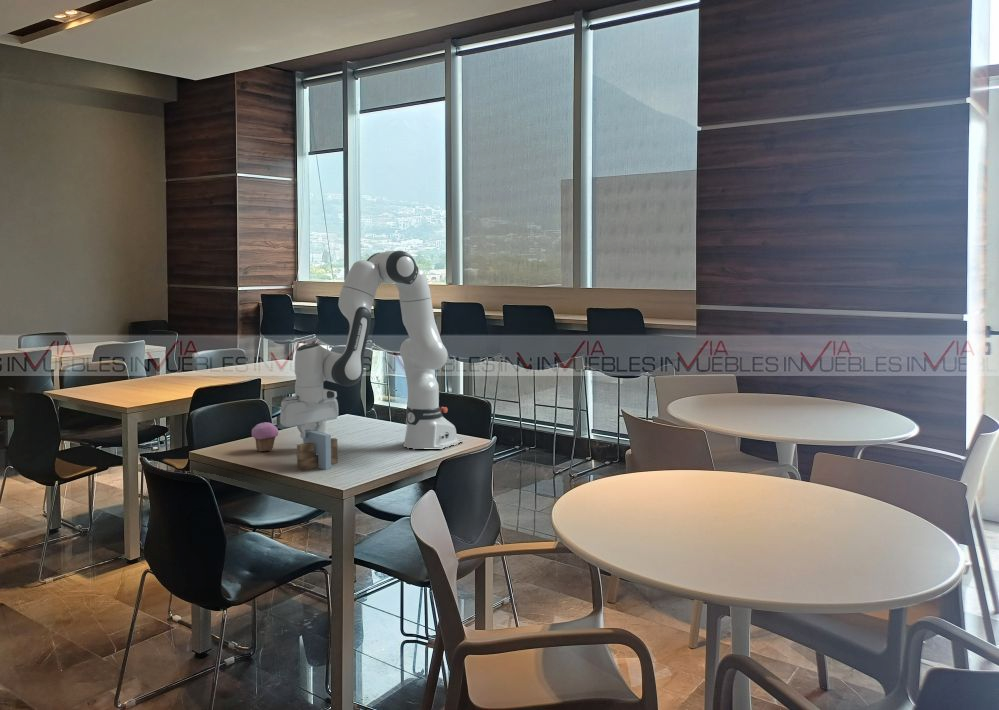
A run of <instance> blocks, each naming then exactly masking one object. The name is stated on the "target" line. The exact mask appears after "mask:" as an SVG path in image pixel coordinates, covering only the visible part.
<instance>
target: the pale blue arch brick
mask: <svg viewBox="0 0 999 710" xmlns="http://www.w3.org/2000/svg"><path fill="white" fill-rule="evenodd" d="M304 431H305V432H307V433H308V434H307V436H308V437H307V438H302V442H304V443H310V442H311V443H314V455H318V467H317V468H319V469H321V470H324V471H328V470H332V464H331V438H332V435H331V434H330V433H321V432H317V431H313V430H309V429H308V430H304Z"/></svg>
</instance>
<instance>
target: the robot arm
mask: <svg viewBox="0 0 999 710" xmlns="http://www.w3.org/2000/svg"><path fill="white" fill-rule="evenodd" d="M343 281H344V282H343V284H342V287H341V289H340V290H341V291H340V293H339V296H338V302H337V303H338V304H337V305H338V308H339V310H340V312H341V314H342V315H343V316H344V317H345V318H346V319H347V321H348V323H349V330H348V335H347V339H346V340H347V341H346V344H345V348H344V351H343V352H342V353H340V352H334V351H332V350H329V349H328V348H325V347H323V346H322V345H321V344H319V343H315V342H312V343H305V344H302V345H300V346H299V347H298V348H296V350H295V354H294V375H295V383H294V396H286V397H285V398H284V399H282V400H281V402H280V415H279V417H280V418H279V423H280V426H282V427H284V428H285V427H286V428H290V427H296V428H297V429H298V431H299V432H300V438H301V439H303V438H307V437H308V436H307V434H308V433H307V432H305V431H304V429H303V428H304V427H305V424H309V423H315V424H317V425H316V427H315V430H313V431H317V432H320V429H321V427H322V425H323V421H326V422H327V421H332V420H337V418H338V417H339V402H338V399H337V397H338V393H337V391H335V390H332V389H328V388H326V387H324V382H326V381H327V382H330V383H334V384H338V385H339V386H343V387H345V388H347V387H348V388H349V387H352V386H355V385H356V384H358V383H359V382H360V381H361V379H362V377H363V375H364V358H365V351H366V347H367V343H368V338H369V334H370V330H371V324H372V308H373V304H374V300H375V297H376V293H377V290H378V289H379V286H380V285H381V284H385V285H387V284H388V285H393V284H394V285H395V286H396V288H397V291H398V298H399V304H400V305H399V306H400V310H401V311H400V313H401V319H402V323H403V326H404V327H405V329H406V333H407V334H408V338H406V339H405V340H403V341H402V342H401V345H400V347H399V356H400V358H401V359H402V362H403V368H404V373H405V374H404V375H405V378H406V385H407V406H406V421H407V423H406V430H405V437H404V441H403V447H404V448H405V447H407V448H406V449H409V448H414V449H413V450H415V449H424V448H442V447H445V446H447V445H450V444H453V443H456V442H459V441H458V440H459V439H457V437H458V436H457V429H456V426H455V425H454V424H453V423H452V422H450V421H449V420H447V419H446V418H445V417H444V415H443V413H445V414H446V413H447V412H448V410H449V409H448V407H446V406H445V407H444V406H441V407H440V406H439V405H440V404H439V403H440V399H439V398H440V391H439V390H440V389H439V382H438V380H437V379H436V378H437V376H436V373H435V370H436V371H437V370H439V369H442V368H443V367H444V366H445V365H446V363H447V361H448V357H449V356H448V355H449V354H448V350H447V348H446V347H445V345H444V344H443V341H442V337H441V336H440V332H439V330H438V327H437V323H436V320H435V314H434V309H433V302H432V301H433V300H432V293H431V289H430V285H429V281H428V278H427V275H426V273H425V271H424V270H423V269H422V268H420V267H418V266H417V263H416V260H415V259H414V256H412V255H411V254H410V253H408V252H407V251H404V250H386V251H383V252H376V253H374V254H372V255H370V256H369V257H368V258H367V259H366V260H362V259H361V260H357V261H355V262H354V263H353V264H352V265H351V268H350V269H349V270H348V273H347V275H346V276H345V279H344V280H343Z"/></svg>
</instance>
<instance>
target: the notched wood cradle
mask: <svg viewBox="0 0 999 710" xmlns="http://www.w3.org/2000/svg"><path fill="white" fill-rule="evenodd" d="M338 455H339V453H338V438H336V437H335V438H334V437H331V465H335V464H338V461H339V460H338ZM296 465H297V466H296V467H297V468H296V470H298V471H300V472H302V471H306V470H311V469H312V470H313V469H315V468H316V469H317V468H318V454H316V455H314V443H311V442H310V443H304V444H303V443H301V444H296Z"/></svg>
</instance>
